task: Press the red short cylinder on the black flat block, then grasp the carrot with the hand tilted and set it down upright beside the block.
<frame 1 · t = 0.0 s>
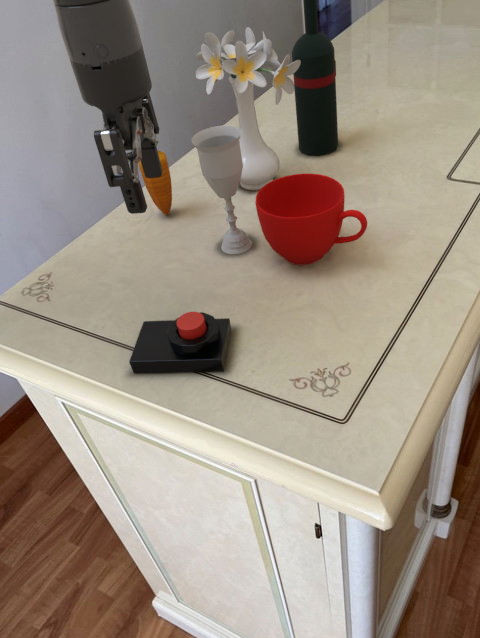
hand: (146, 193, 71), 19 cm above the sideboard top, tool pointing down, fingers open, 8 cm apart
black flat block: (184, 351, 78), on the sideboard top
red short cylinder: (191, 325, 75), point 4 cm above the sideboard top, slide at 0.1 cm
chalice: (236, 246, 95), on the sideboard top
carrot: (167, 215, 105), on the sideboard top
wine bottle: (321, 145, 118), on the sideboard top
ceramic cup: (315, 256, 91), on the sideboard top
flower vase: (261, 183, 110), on the sideboard top
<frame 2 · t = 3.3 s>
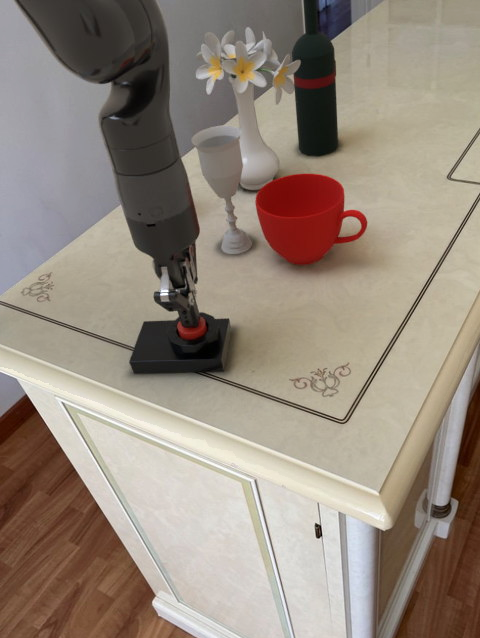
hand: (191, 324, 75), 5 cm above the sideboard top, tool pointing down, fingers closed
red short cylinder: (192, 329, 75), point 4 cm above the sideboard top, slide at -0.5 cm, touching gripper
everything else where it was.
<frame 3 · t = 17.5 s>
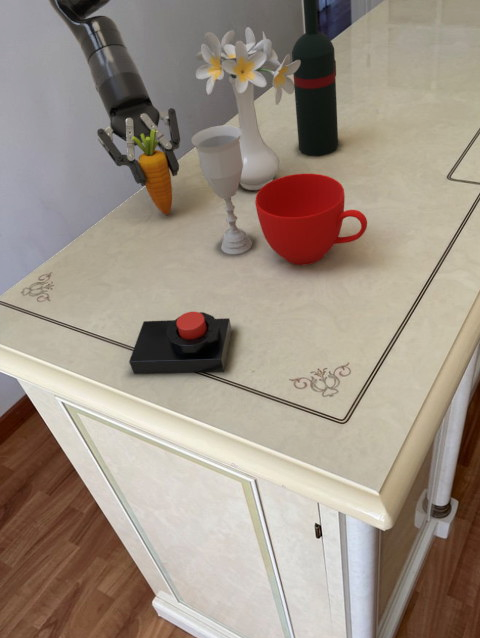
hand: (159, 178, 98), 8 cm above the sideboard top, tool tilted 45°, fingers closed on carrot, 5 cm apart
red short cylinder: (191, 325, 75), point 4 cm above the sideboard top, slide at 0.1 cm
carrot: (167, 215, 105), on the sideboard top, touching gripper
everything else where it was.
when the fingers open (8 cm above the sideboard top, at t = 27.2 s): carrot stays where it is, on the sideboard top.
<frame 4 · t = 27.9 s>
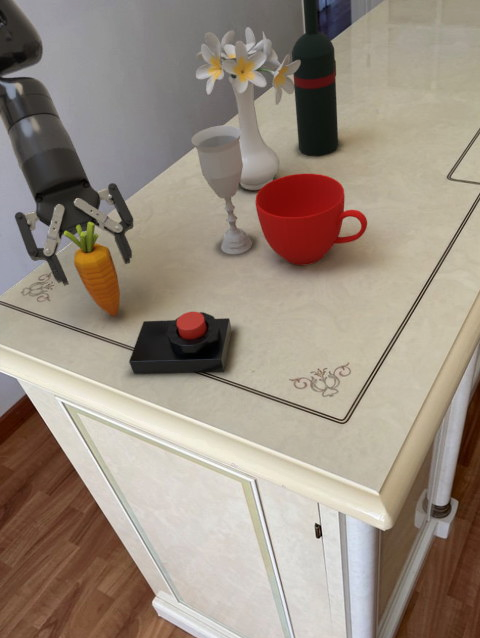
hand: (97, 272, 79), 8 cm above the sideboard top, tool tilted 45°, fingers open, 8 cm apart
carrot: (115, 316, 86), on the sideboard top
everything else where it was.
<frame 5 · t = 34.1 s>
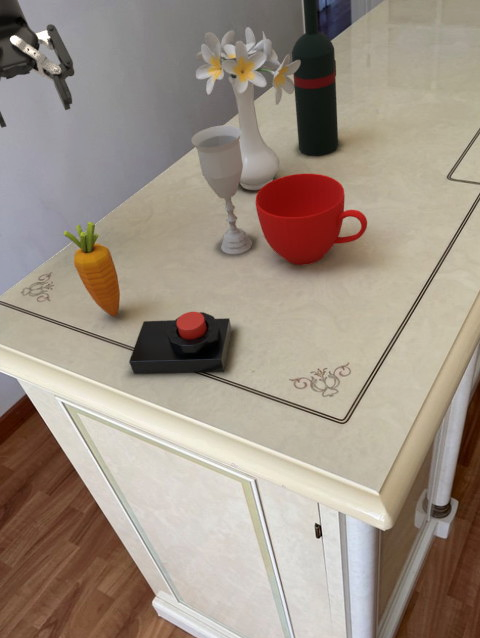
hand: (35, 115, 77), 25 cm above the sideboard top, tool tilted 45°, fingers open, 8 cm apart
nothing on the sideboard top moved.
at the end: red short cylinder pushed in 1.0 cm at the most during the clip, back to where it started at the end; red short cylinder slide at 0.1 cm; carrot inside the target area on the sideboard top beside the black flat block (0.1 cm from its centre), on the sideboard top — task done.
